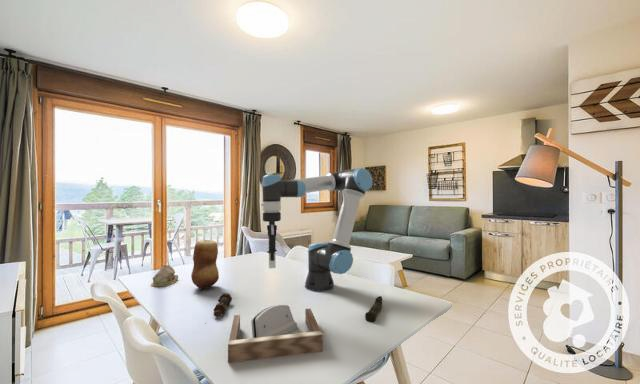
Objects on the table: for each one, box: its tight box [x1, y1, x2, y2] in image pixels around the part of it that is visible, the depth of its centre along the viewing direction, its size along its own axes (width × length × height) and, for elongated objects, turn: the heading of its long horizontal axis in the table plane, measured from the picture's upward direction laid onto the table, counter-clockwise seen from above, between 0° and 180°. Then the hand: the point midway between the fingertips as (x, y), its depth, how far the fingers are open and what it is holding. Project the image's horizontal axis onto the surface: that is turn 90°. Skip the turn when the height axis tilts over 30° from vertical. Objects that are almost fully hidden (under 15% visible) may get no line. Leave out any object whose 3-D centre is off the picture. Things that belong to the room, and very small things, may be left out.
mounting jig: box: [227, 308, 324, 364], centre depth 95 cm, size 28×21×5 cm
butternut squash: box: [190, 239, 220, 291], centre depth 148 cm, size 14×13×25 cm
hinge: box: [250, 304, 298, 338], centre depth 99 cm, size 17×5×10 cm, turn 141°
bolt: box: [213, 292, 233, 318], centre depth 118 cm, size 6×5×15 cm
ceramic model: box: [150, 264, 179, 288], centre depth 157 cm, size 14×11×10 cm
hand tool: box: [364, 295, 383, 323], centre depth 116 cm, size 19×4×5 cm, turn 153°
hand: (272, 267), depth 119 cm, fingers closed
